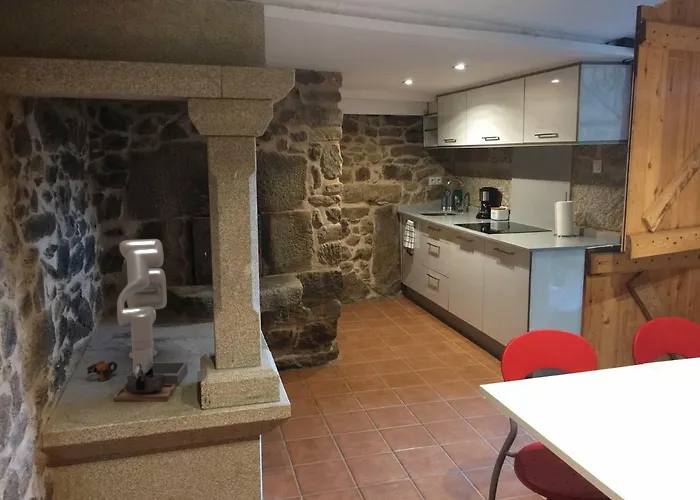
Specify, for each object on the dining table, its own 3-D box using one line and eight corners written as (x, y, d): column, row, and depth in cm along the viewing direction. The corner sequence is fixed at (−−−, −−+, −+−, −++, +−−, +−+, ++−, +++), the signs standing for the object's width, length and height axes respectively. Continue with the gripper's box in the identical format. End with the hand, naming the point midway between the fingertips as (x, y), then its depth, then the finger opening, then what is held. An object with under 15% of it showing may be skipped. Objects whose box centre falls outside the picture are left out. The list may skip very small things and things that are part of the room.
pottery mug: (93, 385, 230) (85, 367, 231) (92, 387, 238) (84, 370, 239) (122, 371, 237) (114, 354, 237) (119, 374, 244) (111, 357, 245)
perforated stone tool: (124, 396, 216) (123, 379, 215) (127, 390, 221) (126, 374, 220) (164, 393, 219) (163, 377, 217) (166, 388, 224) (165, 372, 223)
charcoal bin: (140, 372, 243) (139, 362, 242) (187, 371, 243) (187, 362, 242) (127, 385, 228) (127, 375, 228) (178, 385, 229) (177, 375, 228)
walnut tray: (125, 388, 226) (125, 384, 225) (176, 388, 226) (175, 383, 226) (113, 401, 214) (113, 396, 214) (167, 401, 214) (167, 396, 214)
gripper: (140, 336, 225) (143, 375, 228) (124, 351, 208) (127, 394, 211) (159, 336, 225) (161, 375, 228) (144, 351, 208) (147, 393, 211)
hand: (145, 384), depth 219 cm, fingers open, 9 cm apart
